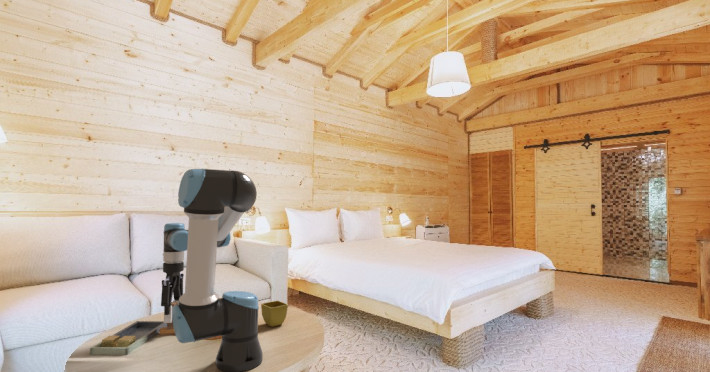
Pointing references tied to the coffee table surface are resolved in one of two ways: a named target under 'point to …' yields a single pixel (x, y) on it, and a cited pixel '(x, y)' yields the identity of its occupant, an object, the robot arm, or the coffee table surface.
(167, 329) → the bent wooden stick
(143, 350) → the coffee table surface
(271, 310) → the flower pot
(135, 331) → the dark grey shallow tray
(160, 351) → the coffee table surface
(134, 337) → the light brown cube
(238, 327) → the robot arm
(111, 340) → the tan cube
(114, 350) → the tray
